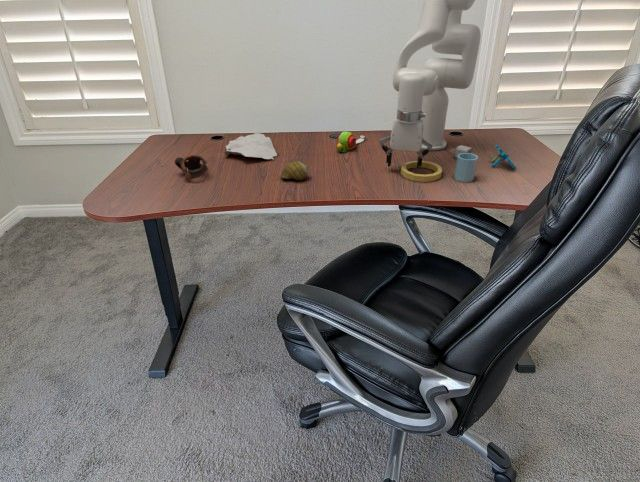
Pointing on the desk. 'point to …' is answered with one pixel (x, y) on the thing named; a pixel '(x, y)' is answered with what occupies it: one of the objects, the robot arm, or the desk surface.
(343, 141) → the toy measuring tape
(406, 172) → the ring
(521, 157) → the desk surface
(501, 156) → the blue branched piece
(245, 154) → the paper
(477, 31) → the robot arm
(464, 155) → the cup
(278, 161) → the desk surface
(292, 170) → the seashell
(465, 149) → the usb wall charger
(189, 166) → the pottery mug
